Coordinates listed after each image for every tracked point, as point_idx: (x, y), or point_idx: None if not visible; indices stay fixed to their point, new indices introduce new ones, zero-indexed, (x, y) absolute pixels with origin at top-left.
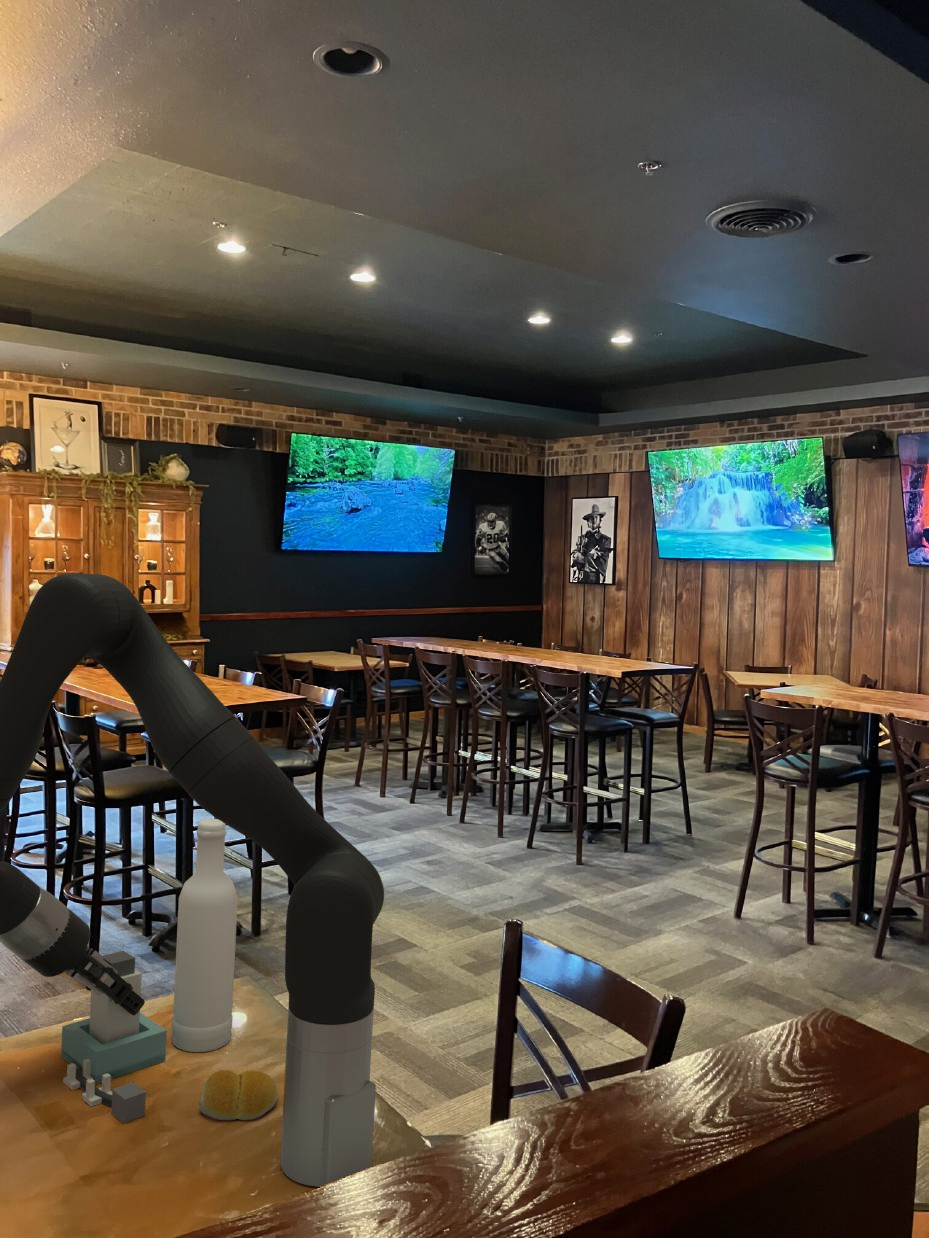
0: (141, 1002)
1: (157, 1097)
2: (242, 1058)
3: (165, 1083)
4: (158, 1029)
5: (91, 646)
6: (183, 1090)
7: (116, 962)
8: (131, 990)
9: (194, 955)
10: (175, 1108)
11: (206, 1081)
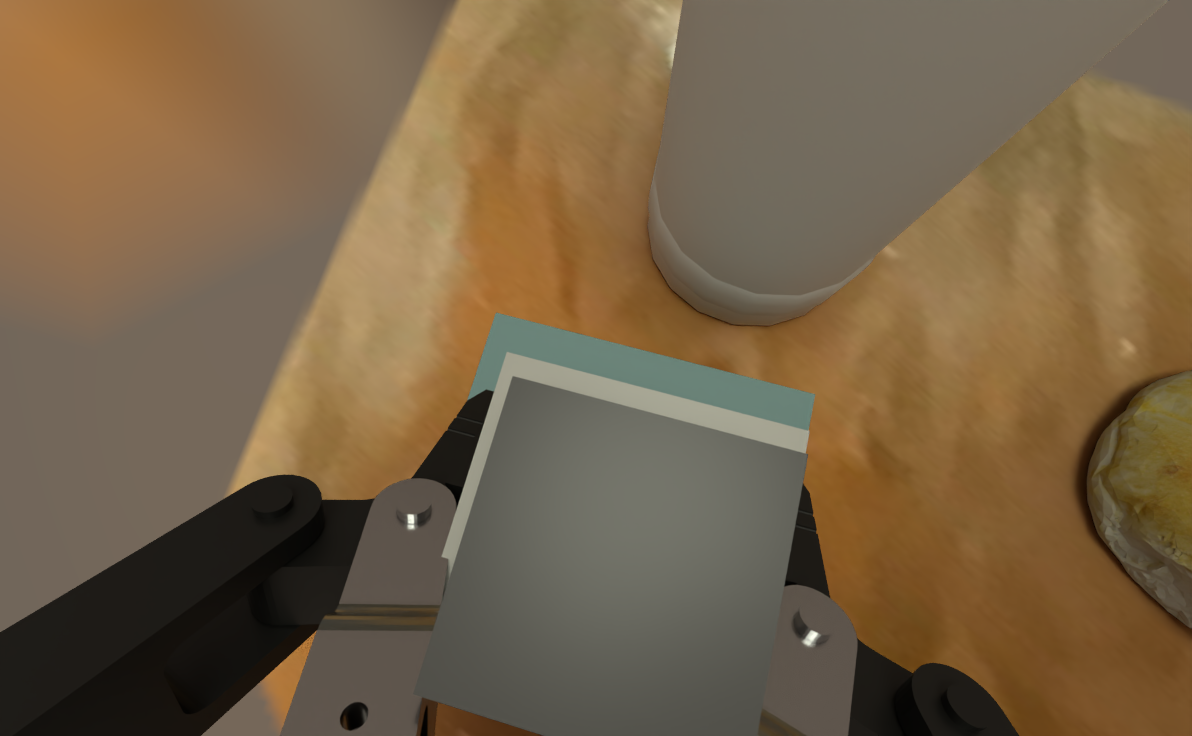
0: (806, 491)
1: (968, 630)
2: (962, 253)
3: (905, 535)
4: (777, 408)
5: None
6: (996, 535)
7: (750, 715)
8: (791, 548)
9: (1122, 17)
10: (1083, 651)
11: (1186, 551)
